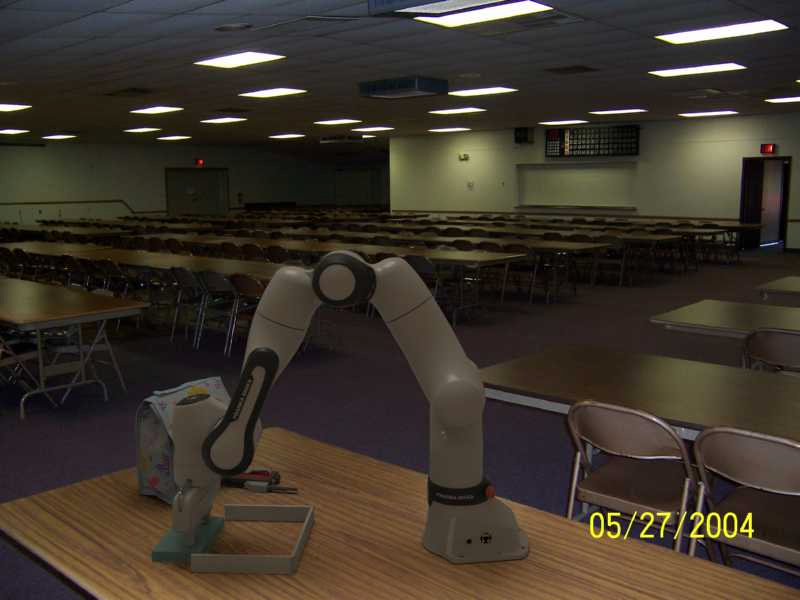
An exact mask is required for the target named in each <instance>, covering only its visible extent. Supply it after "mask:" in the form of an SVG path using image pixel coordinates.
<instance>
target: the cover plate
mask: <svg viewBox="0 0 800 600" xmlns="http://www.w3.org/2000/svg"><path fill="white" fill-rule="evenodd" d="M210 517H211V520H210V522H209V524H208V525H202V524H201V520H199V522H198V523H197V525H196V526H195V529H194V535H196V542H195V544H194V545H193V546H187V545H186V544H185V537H184V535H183V533H175V532H174V531H173V528H172V526H171V527H170V528H169V529H168V530H167V532H166V533H165V534H164V535H163V537H162V538H161V539H160V540H159V541H158V543H157V544H156V545H155V547H153V548H152V550H151V562H167V563H169V562H170V563H172V562H173V563H191V554H208V552H209V551H210V549H211V547H212V546H213V544H215V541H216V540H217V538H218V536H220V534H221V532H222V531H223V529H224V528H225V516H210Z"/></svg>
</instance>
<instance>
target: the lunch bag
mask: <svg viewBox="0 0 800 600" xmlns="http://www.w3.org/2000/svg"><path fill="white" fill-rule="evenodd" d="M152 393H153V395H152V396H151V395H150V396H149V397H147V398H145V399H143V401H142V403H141V404H140V405H139V407H138V409H137V410H136V413H135V414H136V415H135V422H134V429H135V430H134V431H135V433H134V434H135V450H136V453H135V454H136V471H137V487H138V493H139V494H142V495H146V496H156V497H157V498H159V499H161V500H163V502H166V503H167V504H169V505H171V506H172V507H173V500H174V497H175V495H176V494H177V493H178V492H179V489H180V488H181V486H180V485H177V484H176V483H175V481H174V461H173V458H174V454H175V446H174V443H173V438H172V421H173V411H174V408H175V406H176V405H177V403H178V402H179V401H181V400H182V399H183V398H186V397H188V396H191V395H195V394H203V393H204V394H210V395H212V396H213V397H214V398H215V399H216V400H218V401H220V402H222V403H225V404H227V405H229V404H230V401H231V399H232V397H230V395H229V393H228V391H227V389H226V387H225V385H224V383H223V381H222V379H221V376H212V377H211V376H210V377H207V378H202V379H197V380H192V381H188V382H186V383H183V384H181V385H180V386H178V387H174V388H170V389H166V390H162V391H161V390H160V391H159V390H155V391H152ZM225 480H229V476H222V475H221V482H220V483H222V482H224V481H225Z"/></svg>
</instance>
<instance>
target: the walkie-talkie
mask: <svg viewBox="0 0 800 600" xmlns="http://www.w3.org/2000/svg"><path fill="white" fill-rule="evenodd" d="M281 478H282V477H281V475H280V473H279V471H278V470H273V469H272V468H271V467H268V466H267V467H265V466H264V467H263V466H255V467H254V468H250V469H249V468H248V469H247V470H246V471H244V472H243V473H241V474H239V475H236V476H229V479H226V480H224V481H223V483H224V485H227V486H228V485H229V487H232V488H245V489H246V490H248V491H249V492H251V493H253V492H254V493H263V494H267V492H269V491H271V492H272V491H277V492H288V491H289V492H290V491H292V492H298V491H299V488H297V487H293V486H292V487H290V486H278V485H277V486H276V484H278V483H280V482H281Z"/></svg>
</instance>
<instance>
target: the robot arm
mask: <svg viewBox="0 0 800 600" xmlns="http://www.w3.org/2000/svg"><path fill="white" fill-rule="evenodd" d="M368 302H370V304H372V305H373V306H374V307H375V309H376V310H377V312H378V313H379V315H380V317H381V319H382V320H383V321H384V323H385V324H386V326H387V329H389V331H390V333H391V334H392V336H393V338H394V339H395V341H396V343H397V344H398V346H399V348H400V350H401V351H402V352H403V354H404V356H405V358H406V359H407V362H408V364H409V366H410V368H411V370H412V373H413V374H414V376H415V378H416V380H417V382H418V384H419V386H420V387H421V389H422V392H423V393H424V395H425V397H426V399H427V400H428V403H429V475H428V476H427V482H426V501H427V504H428V507H427V516H426V521H425V526H424V531H423V534H422V536H421V543H422V545H423V547H424V548H425V549H427V550H428V551H429V552H431V553H433V554H435V555H438V556H440V557H443V558H445V559H446V560H448V561H449V562H450V563H452V564H457V565H458V564H459V565H460V564H471V563H485V562H495V561H496V562H497V561H509V560H520V559H521V560H522V559H524V558H525V557H527V555H528V553H529V552H530V542H529V537H528V535H527V533H526V531H525V530H524V529H523V527H521V526H519V525H518V521H517V517H516V515H515V512H514V511H513V509H512V508H511V507H510V506H509V505H507V504H506V503H504V502H503V501H502V500H500V499H499V498H498V497H496V488H495V487H494V486H493V483H492V481H491V480H490V477H489V475H486V477H485V476H483V468H484V466H483V461H484V460H483V457H484V455H483V454H484V440H483V439H484V437H483V410H484V408H485V405H486V401H487V400H486V399H487V398H486V397H487V394H486V393H487V392H486V390H485V385H484V382H483V381H484V380H483V377H482V375H481V371H480V369H479V367H478V366H477V365H476V364H475V363H474V361H472V360H471V359H469V358H468V356H467V354H466V352H465V350H464V348H463V347H462V345H461V344H460V341H459V340H458V337H457V336H456V334H455V332H454V330H453V328H452V326H451V325H450V323H449V321H448V319H447V318H446V316H445V314H444V313H443V311H442V310H441V308H440V306H439V305H438V303H437V301H436V299H435V298H434V296H433V294H432V293H431V291H430V290H429V288H428V286H427V285H426V283H425V281H423V279H422V277H420V275H419V274H418V273H417V272H416V270H415V269H414V268H413V267H412V265H410V264H409V263H408V262H407V261H406V260H405V259H404V258H401V257H388V258H385V259H383V260H381V261H379V262H376V263H368V262H367V260H365V258H364V257H363V256H362V255H360V253H358V252H356V251H353V250H350V249H339V250H338V249H337V250H333V251H330V252H328V253H327V254H325V255H324V256H323V257H322V258H321V259H320V260H319V261H318V262H317V263H316V264H315V265H314V267H312V269H306V268H302V267H299V266H294V265H288V266H283V267H281V268H279V269H278V270H277V271H275V273H274V275H273V276H272V278H271V279H270V281H269V283H268V285H267V286H266V288H265V290H264V292H263V294H262V296H261V298H260V300H259V303H258V305H257V307H256V310H255V313H254V314H253V318H252V322H251V325H250V329H249V333H248V337H247V342H246V343H247V344H246V348H245V353H244V357H243V359H244V360H243V363H242V367H241V368H242V369H241V371H240V375H239V379H238V381H237V384H236V386H235V389H234V391H233V394H232V396H231V401H230V404H229V405H227V404H225V403H222V402H220V401H218V400H216V399H215V398H214V397H213V396H212V395H210V394H204V393H203V394H195V395H191V396H188V397H186V398H183V399H182V400H181V401H179V402H178V403H177V405H176V406H175V408H174V411H173V421H172V438H173V443H174V446H175V454H174V458H173V461H174V481H175V483H176V484H177V485H180V486H181V488H180V489H179V492H178V493H177V494H176V495H175V497H174V500H173V506H172V513H171V514H172V515H171V517H172V520H171V522H172V525H171V527H172V528H173V531H174V532H175V533H183V535H184V537H185V544H186V545H187V546H193V545H194V544H195V542H196V535H194V529H195V526H196V525H197V523H198V522H199V520H201V524H202V525H208V524H209V522H210V520H211V517H212V516H211V513H212V508H213V503H214V501H215V500H216V499H217V497H218V495H219V493H220V490H221V483H222V482H221V475H222V476H236V475H239V474H241V473H243V472H244V471H246V470H247V469H249V467H250V466H251V464H252V463H253V459H254V457H255V452H256V450H257V447H259V446H258V445H259V443H260V440H261V438H262V436H263V432H264V431H263V423H262V420H261V418H260V416H261V413H262V411H263V408H264V406H265V403H266V401H267V399H268V396H269V393H270V391H271V389H272V387H273V385H274V384H275V382H276V381H277V379H278V378H279V376H280V375H281V374H282V373H283V371H284V369H286V367H287V365H288V364H289V363H290V361H291V360H292V359H293V358H294V355H296V353H297V351H298V349H299V347H300V346H301V344H302V342H303V341H304V338H305V336H306V334H307V332H308V329H309V326H310V323H311V321H312V318H313V317H314V314H315V313H316V310H317V309H318V307H320V306H321V305H323V304H324V305H326V306H329V307H331V308H336V309H337V308H339V309H340V308H342V309H344V308H347V307H348V308H349V307H353V306H356V305H361V304H363V303H368Z"/></svg>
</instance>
